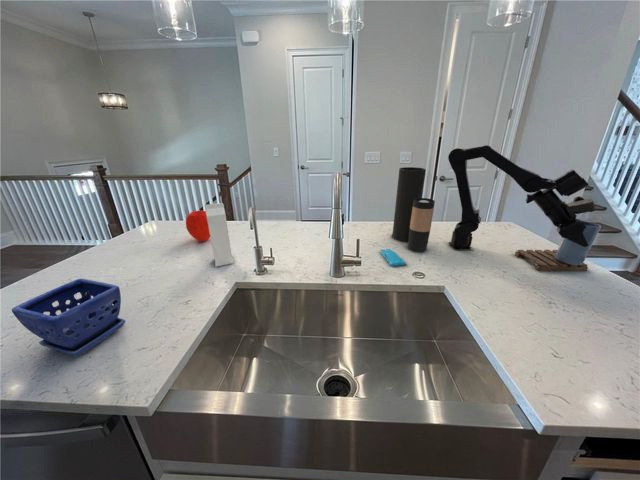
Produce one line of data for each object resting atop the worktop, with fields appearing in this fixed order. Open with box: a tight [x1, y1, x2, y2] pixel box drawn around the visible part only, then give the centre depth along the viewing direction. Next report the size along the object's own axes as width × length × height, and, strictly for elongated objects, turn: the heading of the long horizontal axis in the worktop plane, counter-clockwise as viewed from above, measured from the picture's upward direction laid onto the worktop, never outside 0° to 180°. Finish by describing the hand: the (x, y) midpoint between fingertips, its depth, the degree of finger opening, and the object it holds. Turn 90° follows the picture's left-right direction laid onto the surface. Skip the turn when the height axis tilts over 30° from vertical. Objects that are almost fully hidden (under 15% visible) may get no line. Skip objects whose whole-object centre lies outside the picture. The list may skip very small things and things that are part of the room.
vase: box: [391, 166, 427, 243], centre depth 111 cm, size 10×10×30 cm
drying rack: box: [514, 249, 589, 272], centre depth 92 cm, size 16×12×2 cm
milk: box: [204, 202, 234, 267], centre depth 92 cm, size 6×6×22 cm
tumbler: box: [555, 220, 602, 265], centre depth 86 cm, size 7×7×14 cm
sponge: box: [380, 248, 406, 267], centre depth 97 cm, size 2×12×6 cm
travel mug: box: [407, 197, 436, 253], centre depth 101 cm, size 8×8×20 cm
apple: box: [185, 210, 211, 242], centre depth 114 cm, size 12×12×13 cm
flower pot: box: [11, 278, 126, 357], centre depth 59 cm, size 13×13×12 cm
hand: (583, 241), depth 86 cm, fingers open, 8 cm apart
